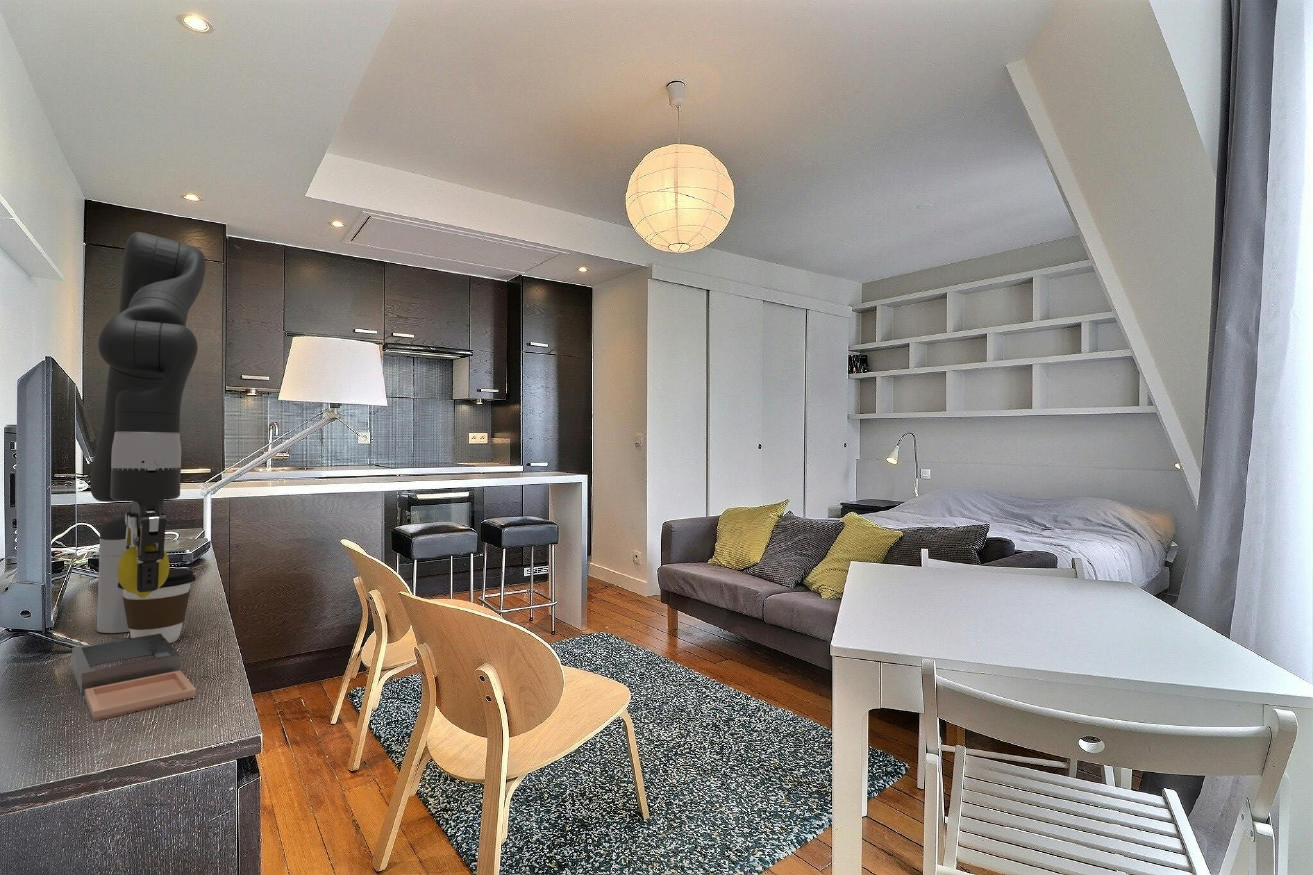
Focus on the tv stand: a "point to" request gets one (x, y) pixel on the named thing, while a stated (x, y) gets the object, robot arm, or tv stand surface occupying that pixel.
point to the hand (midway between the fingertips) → (143, 587)
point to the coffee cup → (160, 607)
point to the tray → (138, 694)
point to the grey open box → (121, 650)
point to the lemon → (129, 571)
